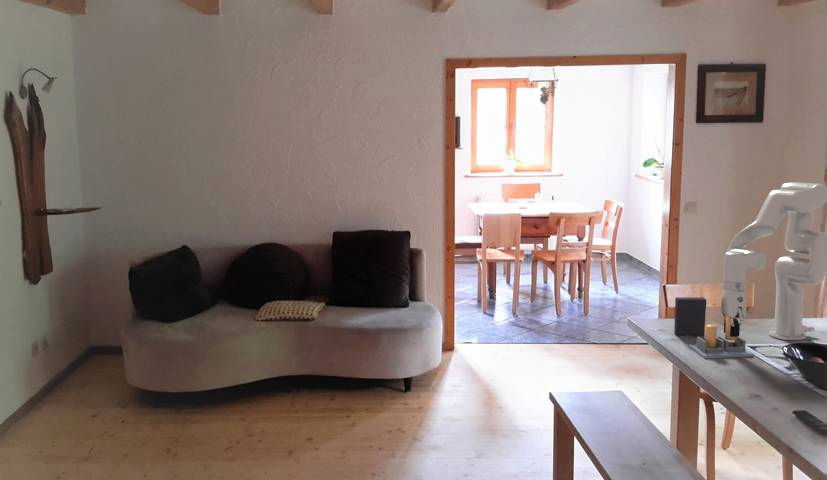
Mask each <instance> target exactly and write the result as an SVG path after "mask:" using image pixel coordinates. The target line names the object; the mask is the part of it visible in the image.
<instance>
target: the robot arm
mask: <svg viewBox="0 0 827 480" xmlns="http://www.w3.org/2000/svg"><path fill="white" fill-rule="evenodd" d="M826 203H827V186H826V185H825V184H823V183H816V182H814V183H813V182H812V183H811V182H800V181H799V182H797V181H796V182H795V181H794V182H786V183H783V184H782V185H781V186H780V188H779V189H773V190H771V191H770V192H769V193H768V195H767V196H766V198H765V201H764V202H763V204H762V206H761V208H760V210H759V212H758V214H757V215H756V218H755V220H754V221H753V222H752V223H751V224H749V225H747V226H746V227H744V228H742V229H741V230H740V231H739V232H738V233H737V234H735V235H734V236H733V238H732V240H731V241H730V243H729V245H728V248H727V250H726V251H725V253H724V255H723V256H724V257H723V269H722V270H723V273H722V274H723V275H722V294H721V303H720V304H721V307H720V308H721V309H720V310H721V312H722V316H723V333H724V334H725V329H726V315H728V316H730V317H731V321H732V326H730V336H731V337H738V336H739V337H740V332H741V330H740V327H741V324H742V323H743V322H745V321H744V320H745V318H746V317H747V295H746V284H747V283H746V281H747V272H759V271H762V270H763V269H764V268H765V267H766V266H767V263H768V258H767V255H766V254H765V253H764V252H762V251H760V250H755V249H750V248H747V246H748V245H749V244H750V243H752V242H754V241H756V240H759V239H761V238H766V237H769V236H772V235H775V234H776V233H777V232H779V229H780V227H781V225H782V223H783V221H784V219H785V217H786V215H787V214H788V221H787V226H786V229H785V230H786V231H785V237H784V242H783V245H784V249H785V250H786V251H787V252H788V253H789V252H790V253H793V254H799V255H806V256H809V258H806V257H805V258H804V257H799V256H794V255H793V256H792V255H785V256H781V257H779V258H778V259H776V260H775V263H774V275H775V282H776V285H775V286H776V290H775V291H776V292H775V306H774V307H775V310H774V327H773V329H770V330H769V335H770V337H773V338H776V339H778V340H783V341H793V342H795V341H802V340H805V339H806V338H807V335H806V333H807V332H811V333H812V332H815V327H814V326H808V325H803V317H804V316H803V315H804V300H805V291H804V287H803V286H802V284H805V285H810V286H817V285H820V284H822V283H823V281H824V279H825V277H826V273H827V233H826V232H825V231H821V230H820V231H819V230H813V227H814V221H815V216H814V212H813V211H814V210H817V209H819V208H821V207H824V205H826ZM735 316H738V317H735ZM734 319H737V320H736V321H734Z"/></svg>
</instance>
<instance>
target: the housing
mask: <svg viewBox="0 0 827 480" xmlns="http://www.w3.org/2000/svg"><path fill="white" fill-rule="evenodd" d="M717 328H718V326H717V325H715V324H711V323H710V324H705V335H704V336H703V337H704V339H703V338H701V337H700V336H696V344H688V348H689V349H690V350H692V351H693V352H695V353H696V354H697V355H699V356H700V357H702V359H703V358H704V359H722V358H723V359H724V358H726V359H727V358H746V357H755V356H754V355H755V353H753V352H751V350H749V349H746V339H744V338H743V337H741V336H740V335H739V336H738V337H737V340H734V341H729V340H727V339H725V337H722V336H721V335H717V330H718V329H717Z"/></svg>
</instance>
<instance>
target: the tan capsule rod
mask: <svg viewBox="0 0 827 480" xmlns="http://www.w3.org/2000/svg"><path fill="white" fill-rule="evenodd" d="M735 317H738V316H735ZM736 320H737V319H734V321H736ZM730 326H732V321H731V317H730V316H728V315H726V329H725V333H724V339H726V340H727V341H735V340H737V337H731V336H730Z"/></svg>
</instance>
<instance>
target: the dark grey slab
mask: <svg viewBox="0 0 827 480" xmlns="http://www.w3.org/2000/svg"><path fill="white" fill-rule="evenodd" d="M674 301H675V302H674V304H675V305H674V326H673V327H674V330H673V333H674V335H675V336H677V337H678V336H679V337H683V336H684V337H687V336H691V337H700V336H701V337H702V336H703V337H705V325H706V310H707V299H706V298H705V297H700V296H699V297H697V296H696V297H695V296H694V297H693V296H692V297H689V296H687V297H683V296H682V297H681V296H679V297H677V296H676V297H675V299H674Z"/></svg>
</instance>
